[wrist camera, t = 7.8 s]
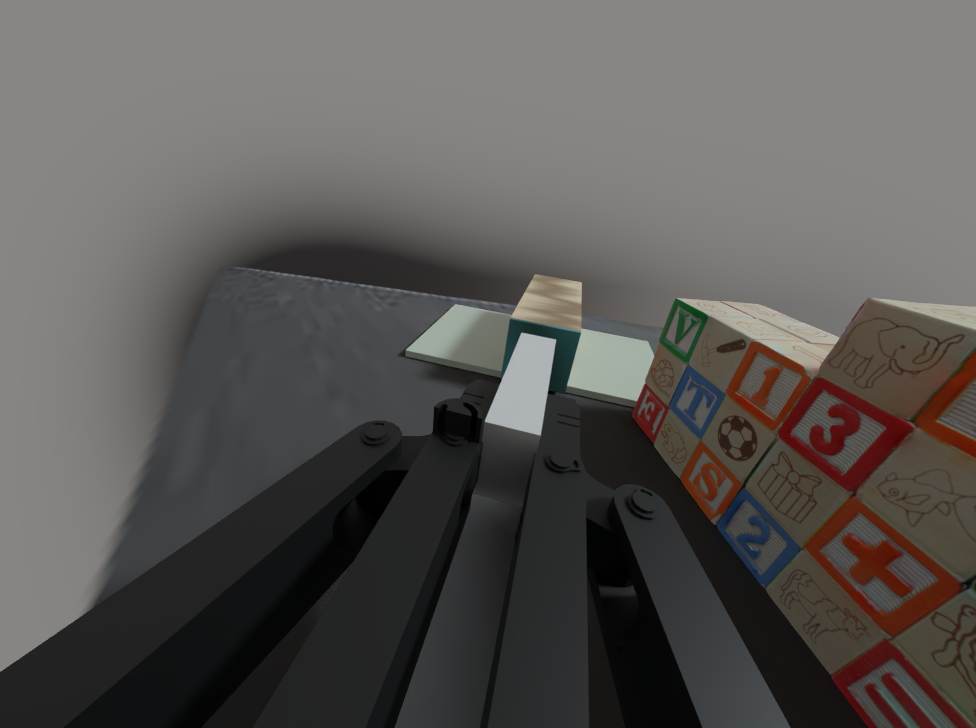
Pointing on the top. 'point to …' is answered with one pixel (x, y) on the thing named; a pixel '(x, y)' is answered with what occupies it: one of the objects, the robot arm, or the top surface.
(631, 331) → the top surface
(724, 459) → the stack of blocks
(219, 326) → the top surface
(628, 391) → the sage cutting board
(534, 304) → the maple block
